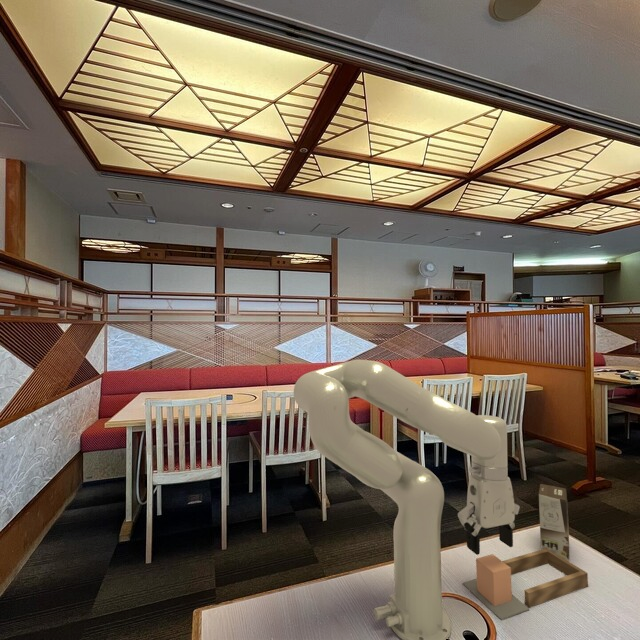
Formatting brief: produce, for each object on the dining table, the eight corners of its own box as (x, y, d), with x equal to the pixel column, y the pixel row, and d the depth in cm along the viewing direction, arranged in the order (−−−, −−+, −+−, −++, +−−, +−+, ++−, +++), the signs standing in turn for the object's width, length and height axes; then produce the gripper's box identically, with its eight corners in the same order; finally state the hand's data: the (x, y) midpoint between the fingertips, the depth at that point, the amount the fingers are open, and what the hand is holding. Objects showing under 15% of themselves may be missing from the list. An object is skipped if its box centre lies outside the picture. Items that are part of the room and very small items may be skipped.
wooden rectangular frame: (529, 607, 72) (528, 593, 72) (491, 576, 81) (491, 564, 82) (588, 586, 78) (587, 573, 78) (547, 560, 88) (546, 548, 88)
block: (494, 606, 72) (493, 572, 73) (477, 589, 77) (475, 558, 77) (512, 600, 74) (510, 567, 74) (493, 584, 78) (492, 554, 79)
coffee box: (570, 564, 86) (566, 500, 87) (540, 554, 90) (537, 493, 91) (570, 546, 93) (567, 488, 94) (542, 538, 97) (540, 482, 98)
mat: (501, 620, 69) (501, 618, 69) (462, 583, 79) (462, 582, 79) (529, 610, 71) (529, 608, 71) (488, 576, 82) (488, 574, 82)
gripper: (472, 480, 71) (472, 564, 69) (531, 472, 76) (532, 550, 75) (447, 468, 78) (447, 544, 76) (503, 461, 83) (504, 532, 82)
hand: (489, 547), depth 76 cm, fingers open, 9 cm apart
